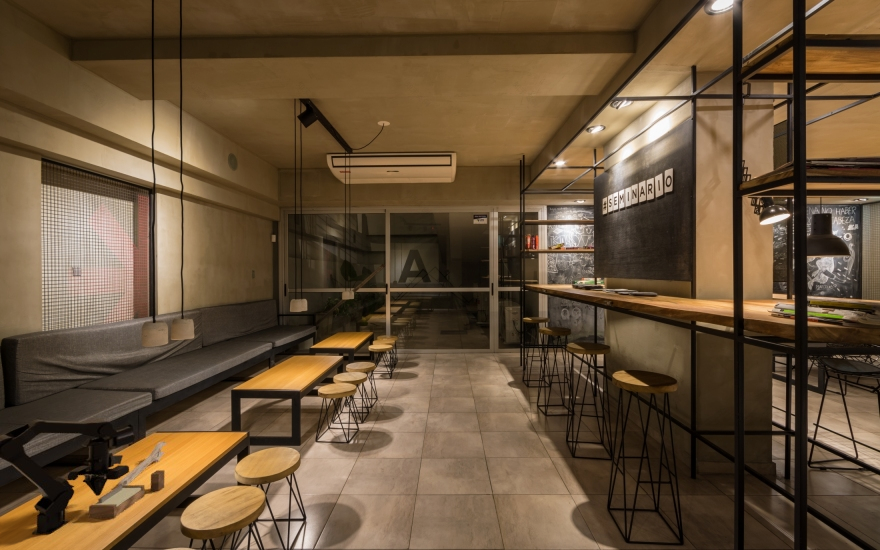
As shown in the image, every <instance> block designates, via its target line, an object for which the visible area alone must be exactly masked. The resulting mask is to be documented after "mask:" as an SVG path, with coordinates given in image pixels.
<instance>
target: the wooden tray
mask: <svg viewBox="0 0 880 550" xmlns="http://www.w3.org/2000/svg"><path fill="white" fill-rule="evenodd" d="M122 488H141V490H140V491H139V492H137V493H136V494H134V495H133V496H131V497H130V498H129V499H127V500H126V501H124V502H123V503H121V504H120V505H119V506H117V504H109V505H94V504H91V505H89V506H88V519H90V520H91V519H97V520H99V519H115V518H116V516H117V517H118V516H119V515H121V514H122V513H123V512H125V511H126V510H128V509H129V508H130V507H131V506H133V505H135V502H136V503H137V502H138V501H140V500H142V499H143V498H144V497H145V485H143V484H135V485H132V484H131V485H130V484H128V485H122ZM124 510H125V511H124ZM120 513H121V514H120Z"/></svg>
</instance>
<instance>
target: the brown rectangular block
mask: <svg viewBox="0 0 880 550" xmlns="http://www.w3.org/2000/svg"><path fill="white" fill-rule="evenodd" d="M165 473H166V472H165V470H161V469H160V470H155V471H153V472H152V473H151V474H150V492H151V491H152V493H153V491H159V492H160V491H161V490H163V489H164V488H165Z"/></svg>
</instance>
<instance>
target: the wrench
mask: <svg viewBox="0 0 880 550" xmlns="http://www.w3.org/2000/svg"><path fill="white" fill-rule="evenodd" d="M166 445H167V442H166V441H159V442H157V444H156V445H155V446H154V448H153V449H152V451H151V453H150V454H149V455H148V456H147V457H146V458H145V459H144V460H143V461H141V462H140V463H139V464H138V465H137V466H136V467H135V468H133V469H132V470H131V471H129V472H128V473H127V474H126V476H125V475H124V477H123V478H122V479H120V480H119V482H118V485H117V487H118V486H122V485H130V483H131V482H132V481H133V480H134V479H135V478H137V476H139V475H140V474H141V473H142V472H143V471H144V470H146V468H147V467H148V466H150V465H151V464H152V463H153V462H154V463H158V462H160V460H161V458H162V457H163V456H164V454H165V451H162V448H163V446H166Z"/></svg>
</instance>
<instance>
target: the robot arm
mask: <svg viewBox="0 0 880 550" xmlns="http://www.w3.org/2000/svg"><path fill="white" fill-rule="evenodd" d="M40 434H78V435H79V434H80V435H84V436H89V437H95V438H89V437H88V438H87V439H86V440H85V441H83V443H81V446H83V447H86V448H88V449H89V450H88V458H87V459H86V460H85V463H87V464H88V465H81V466H78V467H77V468H74V469H73V470H70V471H69V472H68V474H67V479H66V478H63V477H62V476H57V477H55V478H54V477H53V476H52V475H50V474H49V473H48V472H47V471H46V470H44V468H42V467H41V466H40V465H39V464H38V463H37V462H35V460H34V459H32V458H31V457H30V456H29V455H28V454H27V453H26V450H25V447H24V445H26V444H28V443H29V442H30V441H32V440H33V439H35V438H36V437H37V436H38V435H40ZM134 442H135V434H134V432H133V430H132V427H130V426H126V427H123V428H120V429H117V430H115V428H113V423H112V422H110V421H107V420H104V419H90V420H84V421H64V420H59V421H58V420H41V419H34V420H32V421H31V420H30V421H29V422H28V423H26V424H24V425H22V426H19V427H17V428H14V429H12V430H9V431H7V432H5V433H4V434H0V459H1V460H3V461H4V462H7V463H9V464H10V465H11V466H12V467H14V469H16V470H17V471H18V472H20V473H21V475H23V476H24V477H26V479H28V480H29V481H30V482H31V483H32V484H33V485H35V486H36V487H37V488H38V490H39V494H40V495H41V497H40V499H39V500H38V501H37V502H36V503H35V504H34V505H33V507H34V509H35V510H36V511H37V512H39V513H38V514H37V516H36V529H35V530H33V531H32V532H31V534H32V535H43V534H44V535H45V534H53V533H54V532H55V531H58V529H60V528H62V527H63V526H65V525H66V524H68V523H69V519H66V509H67V508H68V505H69V503H70V500H71V499H72V498H73V496H74V494H75V490H74V488H75V485H72V484H70V483H69V481H76V480H78V478H79V476H83V477H84V479H83V480H82V483H85V484H86V485H87V486H88V487H89V489H90V490H91V491H92V492H93V494H94V495H95V496H96V497H98V496H101V494H102V493H103V490H104V488H105V485H106V483H107V481H110V480H113V481H115V480H119V479H120V478H122V477H123V476H125V475H128V474H129V473H130V467H129V466H128V465H127V464H125V465H121V464H122V460H123V457H124V455H122V454H117V455H116V454H114V453H112V452H110V448H112V449H114V450H116V449H118V448H123V447H124V446H128V445H131V444H133V443H134ZM113 454H114V455H113ZM115 465H117V466H115ZM114 466H115V467H114ZM112 467H113V468H112Z"/></svg>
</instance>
